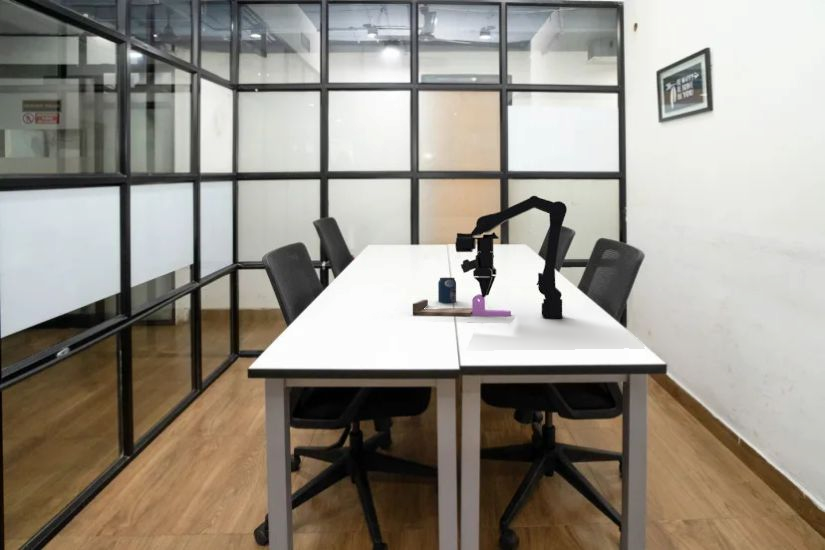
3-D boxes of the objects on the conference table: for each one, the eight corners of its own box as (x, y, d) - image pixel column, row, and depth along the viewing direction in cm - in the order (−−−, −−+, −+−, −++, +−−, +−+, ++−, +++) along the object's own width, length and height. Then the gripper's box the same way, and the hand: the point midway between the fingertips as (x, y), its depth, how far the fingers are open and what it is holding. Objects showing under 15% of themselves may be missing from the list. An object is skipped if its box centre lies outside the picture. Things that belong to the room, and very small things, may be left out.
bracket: (472, 315, 201) (472, 295, 200) (474, 313, 206) (474, 294, 206) (510, 316, 198) (510, 295, 197) (511, 314, 203) (511, 294, 203)
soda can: (455, 309, 222) (455, 278, 221) (437, 309, 223) (437, 278, 222) (456, 307, 229) (456, 277, 228) (439, 307, 230) (439, 277, 229)
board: (476, 311, 215) (476, 300, 215) (469, 316, 197) (469, 304, 197) (423, 310, 220) (423, 299, 220) (412, 315, 202) (412, 303, 202)
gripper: (466, 252, 215) (466, 294, 216) (458, 252, 197) (458, 297, 198) (496, 252, 213) (496, 294, 213) (491, 251, 195) (491, 298, 195)
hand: (485, 296), depth 205 cm, fingers open, 9 cm apart
